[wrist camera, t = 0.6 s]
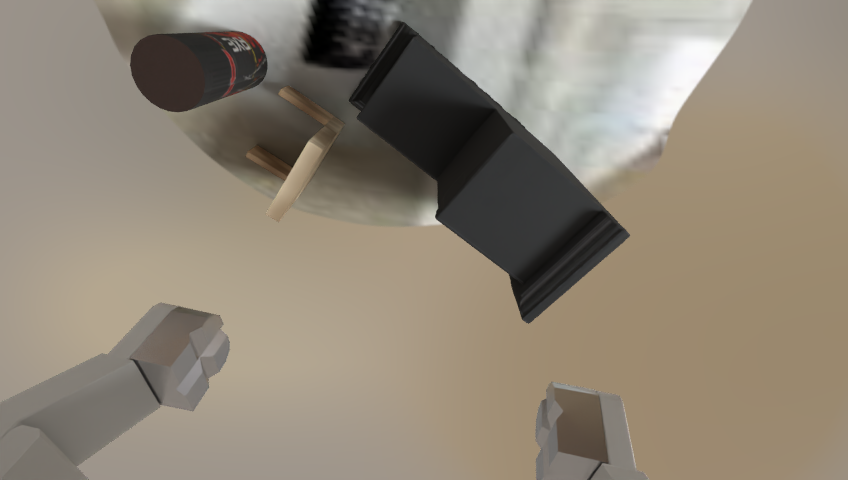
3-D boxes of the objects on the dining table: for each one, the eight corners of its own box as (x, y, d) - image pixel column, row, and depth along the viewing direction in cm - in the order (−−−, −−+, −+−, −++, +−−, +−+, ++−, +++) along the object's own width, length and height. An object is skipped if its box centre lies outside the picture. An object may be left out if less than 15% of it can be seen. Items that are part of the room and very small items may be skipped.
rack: (254, 149, 53) (209, 181, 42) (288, 85, 49) (249, 102, 39) (308, 183, 55) (278, 222, 44) (345, 123, 51) (322, 149, 41)
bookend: (347, 100, 50) (287, 154, 29) (403, 18, 46) (382, 14, 25) (494, 215, 56) (532, 328, 35) (554, 152, 53) (637, 238, 32)
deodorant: (274, 49, 48) (214, 59, 34) (257, 98, 50) (194, 125, 37) (223, 20, 46) (139, 19, 33) (207, 71, 49) (123, 89, 35)
